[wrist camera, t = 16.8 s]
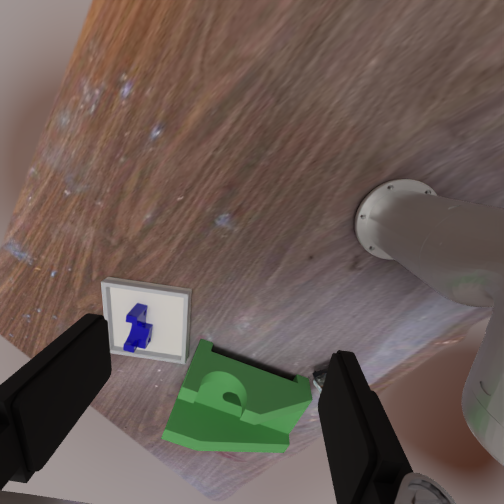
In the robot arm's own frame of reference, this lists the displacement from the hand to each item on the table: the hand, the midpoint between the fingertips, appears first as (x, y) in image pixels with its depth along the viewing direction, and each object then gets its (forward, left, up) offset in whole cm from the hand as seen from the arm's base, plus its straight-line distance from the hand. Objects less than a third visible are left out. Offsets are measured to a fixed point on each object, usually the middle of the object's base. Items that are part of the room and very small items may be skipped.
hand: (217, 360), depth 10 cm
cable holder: (+19, +24, -32) cm, 45 cm away
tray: (+18, +24, -33) cm, 45 cm away
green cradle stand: (-2, +37, -34) cm, 50 cm away
